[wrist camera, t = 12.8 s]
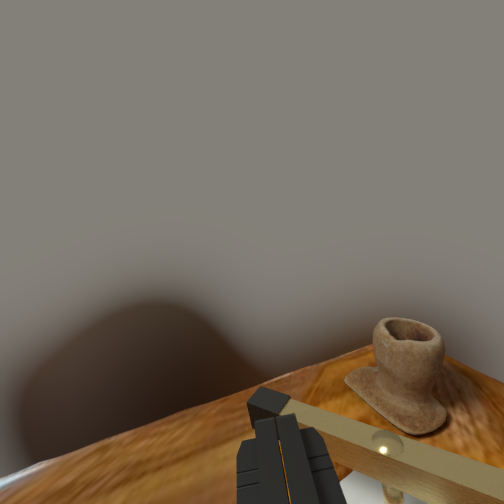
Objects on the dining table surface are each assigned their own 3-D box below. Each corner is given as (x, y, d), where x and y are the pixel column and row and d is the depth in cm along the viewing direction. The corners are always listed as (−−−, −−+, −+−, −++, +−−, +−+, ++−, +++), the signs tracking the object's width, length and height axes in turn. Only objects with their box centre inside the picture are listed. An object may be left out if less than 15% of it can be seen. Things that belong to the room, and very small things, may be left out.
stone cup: (468, 417, 43) (464, 330, 40) (410, 451, 39) (401, 358, 37) (391, 367, 57) (384, 300, 54) (343, 388, 54) (333, 318, 51)
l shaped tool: (517, 567, 21) (516, 469, 19) (524, 615, 19) (523, 509, 17) (273, 450, 34) (260, 386, 32) (261, 469, 32) (246, 402, 30)
